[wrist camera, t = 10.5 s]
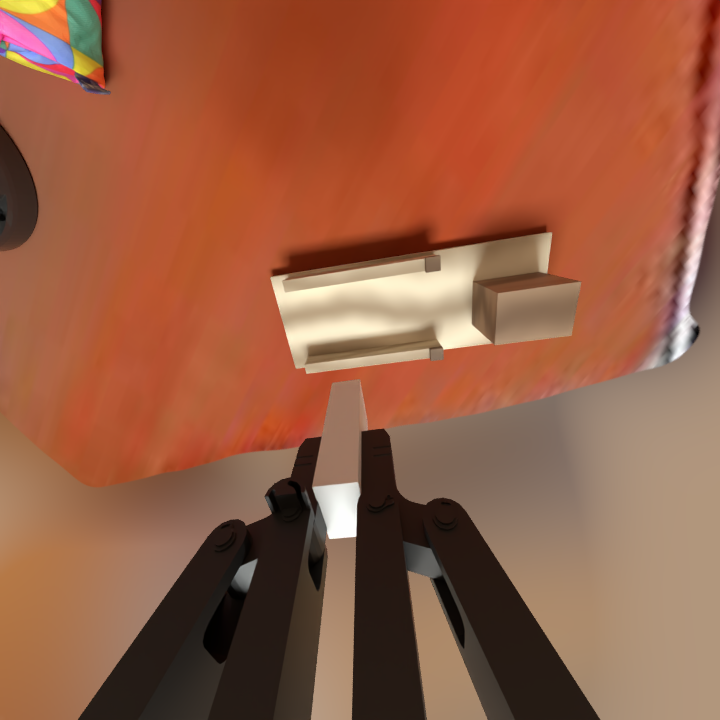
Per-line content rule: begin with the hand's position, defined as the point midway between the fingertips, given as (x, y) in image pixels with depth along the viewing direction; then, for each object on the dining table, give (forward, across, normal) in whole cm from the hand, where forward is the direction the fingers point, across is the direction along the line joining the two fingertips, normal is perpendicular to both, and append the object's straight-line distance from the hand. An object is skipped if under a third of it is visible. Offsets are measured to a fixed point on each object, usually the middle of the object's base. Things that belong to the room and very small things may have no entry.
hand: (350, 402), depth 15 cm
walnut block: (+19, +17, -1) cm, 25 cm away
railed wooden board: (+20, +6, -1) cm, 21 cm away
